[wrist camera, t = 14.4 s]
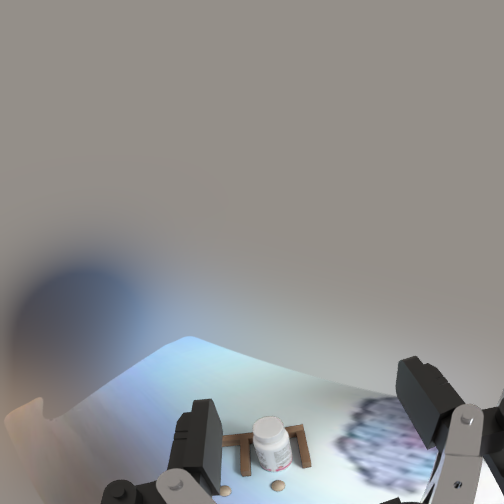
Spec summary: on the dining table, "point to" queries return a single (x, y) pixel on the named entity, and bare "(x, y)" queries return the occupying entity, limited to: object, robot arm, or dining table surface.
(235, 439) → the slot rack
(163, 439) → the dining table surface
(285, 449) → the pill bottle
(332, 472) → the dining table surface
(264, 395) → the dining table surface
